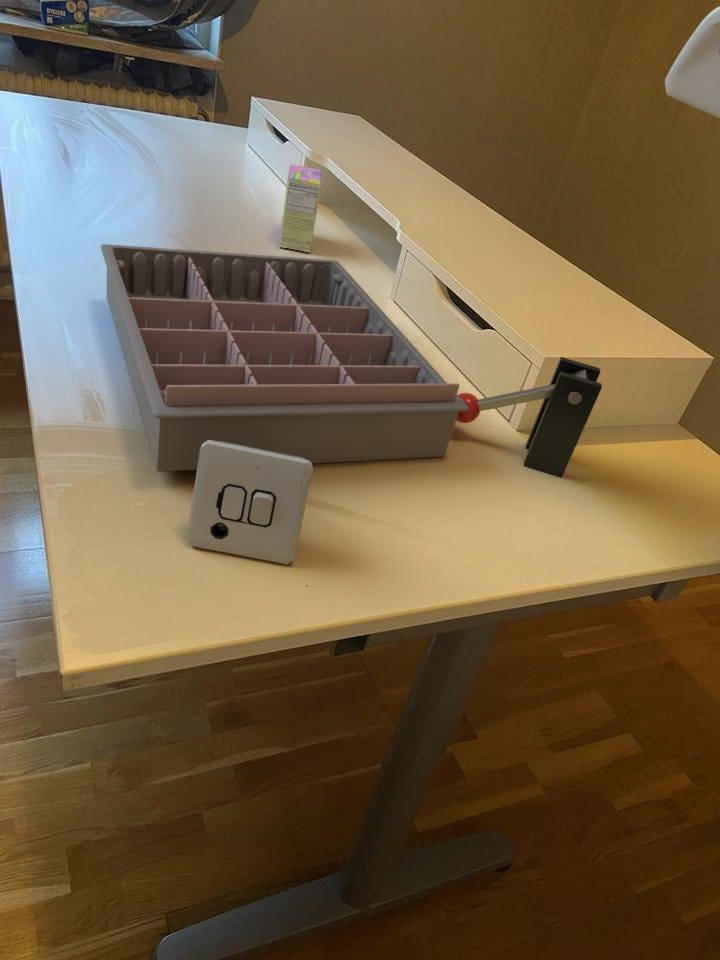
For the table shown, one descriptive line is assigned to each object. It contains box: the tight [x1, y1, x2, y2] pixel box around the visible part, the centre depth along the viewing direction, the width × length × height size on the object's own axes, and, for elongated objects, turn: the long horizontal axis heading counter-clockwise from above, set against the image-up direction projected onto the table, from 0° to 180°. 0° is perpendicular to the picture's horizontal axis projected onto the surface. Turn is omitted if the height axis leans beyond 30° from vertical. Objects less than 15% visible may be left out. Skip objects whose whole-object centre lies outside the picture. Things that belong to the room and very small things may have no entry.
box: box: [278, 163, 322, 254], centre depth 129 cm, size 10×6×12 cm, turn 2°
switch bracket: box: [523, 356, 603, 479], centre depth 81 cm, size 12×10×13 cm
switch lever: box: [456, 370, 588, 424], centre depth 81 cm, size 15×3×3 cm
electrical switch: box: [186, 440, 314, 565], centre depth 63 cm, size 9×5×9 cm, turn 87°
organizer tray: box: [100, 243, 469, 473], centre depth 86 cm, size 32×40×10 cm
